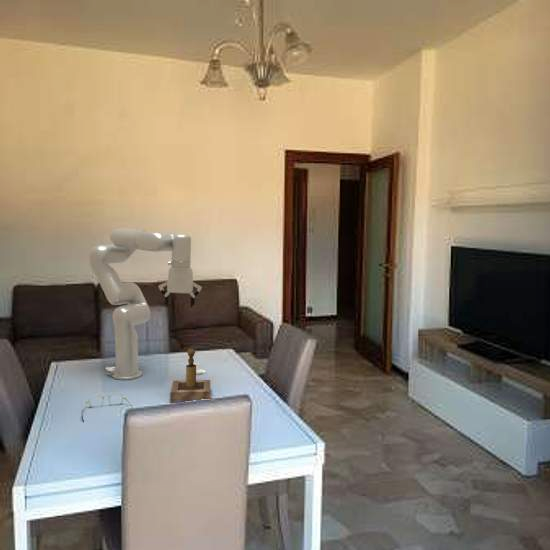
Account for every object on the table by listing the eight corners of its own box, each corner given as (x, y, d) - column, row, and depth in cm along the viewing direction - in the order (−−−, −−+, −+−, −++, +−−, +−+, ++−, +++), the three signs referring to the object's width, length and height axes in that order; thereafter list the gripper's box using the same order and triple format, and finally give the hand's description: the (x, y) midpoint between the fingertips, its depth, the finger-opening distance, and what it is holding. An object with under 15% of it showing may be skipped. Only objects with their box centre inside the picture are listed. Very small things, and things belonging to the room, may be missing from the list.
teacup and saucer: (203, 375, 232) (203, 367, 232) (186, 375, 233) (186, 366, 232) (206, 370, 241) (206, 361, 241) (189, 370, 241) (189, 361, 241)
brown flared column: (185, 396, 199) (185, 351, 197) (180, 392, 205) (180, 347, 203) (202, 394, 202) (202, 349, 200) (196, 389, 208) (196, 345, 206)
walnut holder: (170, 402, 195) (170, 392, 195) (173, 390, 210) (173, 380, 209) (210, 401, 197) (210, 391, 196) (210, 389, 212) (210, 379, 211)
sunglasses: (130, 404, 194) (129, 391, 194) (133, 418, 180) (133, 404, 180) (81, 408, 188) (81, 395, 188) (81, 424, 174) (81, 409, 174)
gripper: (158, 264, 205) (157, 307, 207) (202, 266, 207) (200, 308, 209) (160, 263, 212) (159, 304, 214) (202, 264, 214) (201, 305, 216)
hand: (179, 306), depth 211 cm, fingers open, 9 cm apart
